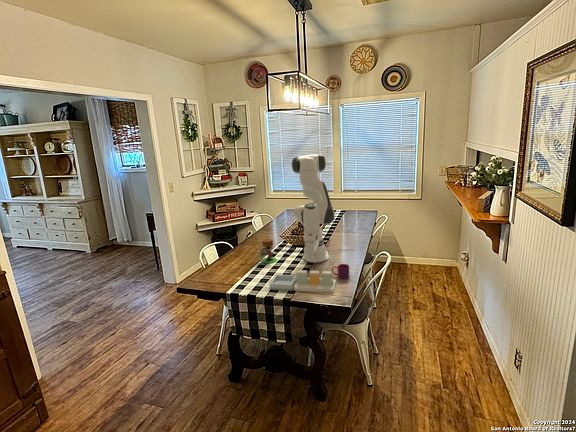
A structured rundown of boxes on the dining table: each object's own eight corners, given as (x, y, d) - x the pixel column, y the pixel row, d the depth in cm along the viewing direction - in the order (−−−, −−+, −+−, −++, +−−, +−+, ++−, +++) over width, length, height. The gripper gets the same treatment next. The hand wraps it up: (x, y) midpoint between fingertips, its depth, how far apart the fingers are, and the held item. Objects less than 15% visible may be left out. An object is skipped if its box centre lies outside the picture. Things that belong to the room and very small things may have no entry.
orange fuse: (311, 282, 184) (310, 270, 182) (319, 282, 182) (319, 270, 181) (310, 284, 181) (309, 272, 179) (319, 284, 180) (318, 273, 178)
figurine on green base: (280, 257, 231) (278, 237, 228) (274, 264, 219) (272, 243, 216) (264, 256, 234) (262, 237, 231) (258, 263, 223) (256, 242, 219)
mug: (348, 279, 188) (348, 268, 187) (331, 278, 192) (331, 267, 190) (350, 274, 194) (349, 264, 193) (333, 273, 198) (333, 263, 196)
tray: (276, 279, 195) (275, 274, 194) (297, 280, 191) (296, 275, 191) (269, 289, 182) (269, 284, 182) (292, 290, 179) (291, 285, 178)
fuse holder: (298, 281, 191) (298, 273, 189) (335, 282, 185) (335, 274, 184) (293, 290, 179) (293, 282, 178) (333, 292, 174) (333, 284, 173)
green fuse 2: (323, 282, 182) (322, 271, 180) (332, 283, 181) (331, 271, 179) (322, 285, 179) (322, 273, 178) (331, 285, 178) (331, 273, 176)
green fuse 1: (299, 281, 186) (298, 270, 184) (307, 281, 184) (307, 270, 183) (298, 283, 183) (297, 272, 181) (306, 284, 181) (306, 272, 180)
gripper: (310, 228, 185) (311, 251, 188) (302, 239, 166) (304, 264, 169) (321, 228, 184) (322, 251, 187) (315, 239, 165) (316, 264, 168)
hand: (313, 257), depth 178 cm, fingers open, 8 cm apart
